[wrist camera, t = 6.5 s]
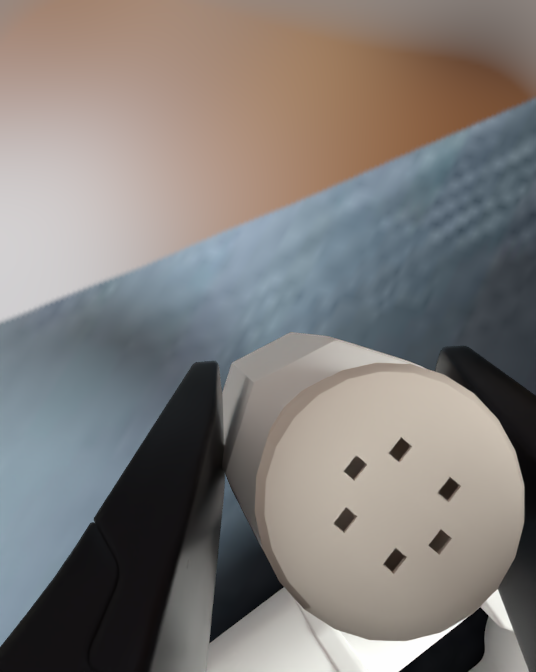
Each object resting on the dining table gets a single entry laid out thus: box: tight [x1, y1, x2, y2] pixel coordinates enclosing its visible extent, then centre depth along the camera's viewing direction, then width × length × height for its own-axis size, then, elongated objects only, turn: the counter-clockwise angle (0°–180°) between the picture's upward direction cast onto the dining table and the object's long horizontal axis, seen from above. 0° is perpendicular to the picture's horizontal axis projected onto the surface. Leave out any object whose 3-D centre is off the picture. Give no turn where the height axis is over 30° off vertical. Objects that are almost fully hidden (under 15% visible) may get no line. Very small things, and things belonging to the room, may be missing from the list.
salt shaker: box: [222, 332, 524, 641], centre depth 10 cm, size 5×5×11 cm
